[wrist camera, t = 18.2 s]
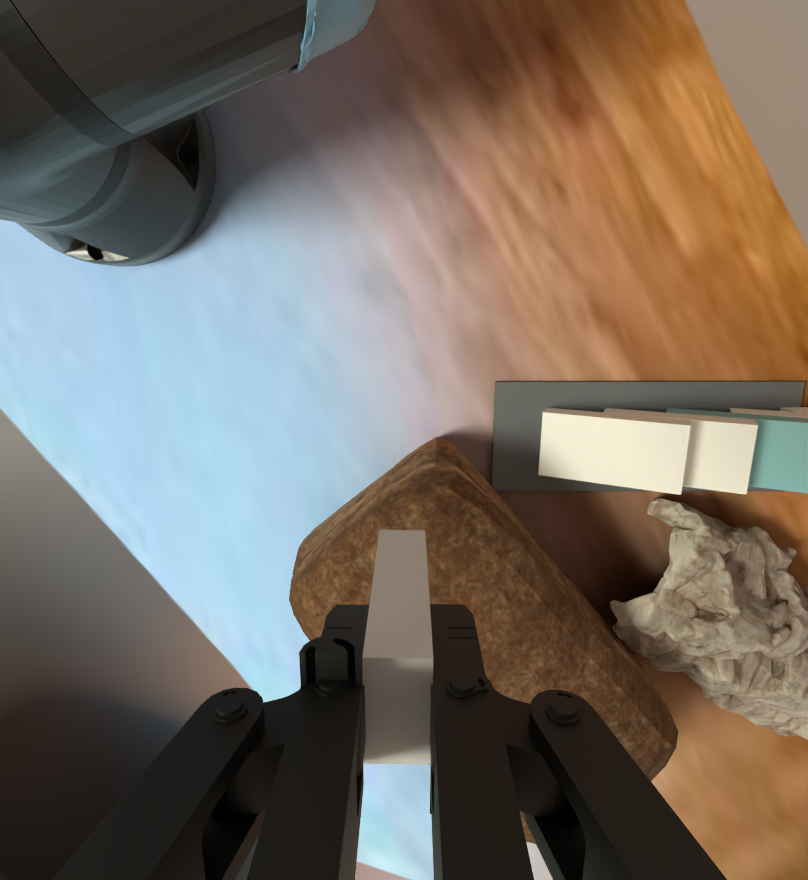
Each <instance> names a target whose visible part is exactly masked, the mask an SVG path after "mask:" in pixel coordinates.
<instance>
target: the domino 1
mask: <svg viewBox="0 0 808 880" xmlns="http://www.w3.org/2000/svg"><path fill="white" fill-rule="evenodd" d="M690 428H691V423H690V420H684V419H673V418H661V417H650V416H638V415H627V414H615V413H604V412H592V411H581V410H570V409H558V408H547V409H546V410H545V411H544V412H543V416H542V430H541V444H540V459H539V473H538V475H542V476H550V477H557V478H564V479H571V480H578V481H585V482H592V483H599V484H607V485H614V486H621V487H628V488H635V489H642V490H649V491H656V492H664V493H671V494H678V495H681V492H682V485H683V478H684V471H685V463H686V456H687V449H688V442H689V435H690Z"/></svg>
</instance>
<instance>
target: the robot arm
mask: <svg viewBox="0 0 808 880" xmlns="http://www.w3.org/2000/svg"><path fill="white" fill-rule="evenodd" d="M375 3H376V0H0V219H2V220H7V221H12V222H16V223H17V224H19V225H20V226H22V227H23V228H24V229H26V230H27V231H28V232H30V233H31V234H33V235H34V236H35V237H37V238H38V239H39V240H41V241H42V242H44V243H45V244H47V245H48V246H50V247H52V248H53V249H55V250H57V251H59V252H61V253H63V254H65V255H68V256H70V257H73V258H76V259H79V260H82V261H86V262H90V263H96V264H103V265H111V266H136V265H142V264H146V263H150V262H153V261H156V260H158V259H160V258H163V257H165V256H166V255H168V254H170V253H171V252H173V251H175V250H176V249H177V248H178V247H180V246H181V245H182V244H183V243H184V242H185V241H186V240H187V239H188V238H189V237H190V236H191V235H192V234H193V232H194V231H195V230H196V228H197V227H198V225H199V224H200V222H201V221H202V219H203V217H204V215H205V213H206V210H207V208H208V205H209V203H210V199H211V196H212V192H213V187H214V180H215V151H214V144H213V139H212V134H211V131H210V127H209V124H208V121H207V118H206V116H205V113H204V111H203V108H205V107H207V106H209V105H211V104H214V103H216V102H218V101H220V100H223V99H225V98H227V97H229V96H231V95H234V94H236V93H238V92H240V91H243V90H245V89H247V88H249V87H251V86H254V85H256V84H258V83H260V82H263V81H265V80H267V79H269V78H271V77H274V76H276V75H278V74H280V73H283V72H285V71H287V70H288V71H289V72H290V73H291V74H294V73H298V72H300V71H301V70H303V69H304V68H305V66H306V65H307V64H308V62H309V61H310V60H311V59H313V58H315V57H317V56H319V55H321V54H323V53H325V52H327V51H329V50H331V49H333V48H335V47H337V46H339V45H341V44H343V43H345V42H347V41H349V40H351V39H352V38H354V37H355V36H356V35H358V34H359V33H360V32H361V31H362V30H363V29H364V27H365V26H366V24H367V22H368V20H369V18H370V16H371V14H372V11H373V9H374V6H375ZM299 656H300V676H301V688H300V690H298V691H297V692H295V693H293V694H291V695H290V696H287V697H284V698H281V699H277V700H273V701H269V702H264V703H263V699H262V697H261V696H260V695H259V694H258V693H257V692H256V691H253V690H251V689H248V688H232V689H227V690H223V691H221V692H219V693H216V694H214V695H212V696H211V697H210V698H209V699H207V700H206V701H205V702H204V703H203V704H202V705H201V706H200V707H199V708H198V710H196V712H195V713H194V714H193V715H192V716H191V718H190V719H189V720H188V721H187V722H186V723H185V725H184V726H183V727H182V728H181V729H180V730H179V732H178V733H177V734H176V735H175V736H174V737H173V739H172V740H171V741H170V742H169V743H168V744H167V746H166V747H165V748H164V749H163V750H162V752H161V753H160V754H159V755H158V756H157V757H156V759H155V760H154V761H153V762H152V763H151V764H150V766H149V767H148V768H147V769H146V770H145V771H144V773H143V774H142V775H141V776H140V777H139V779H138V780H137V781H136V782H135V783H134V784H133V785H132V787H131V788H130V789H129V790H128V791H127V793H126V794H125V795H124V796H123V797H122V798H121V800H120V801H119V802H118V803H117V804H116V805H115V807H114V808H113V809H112V810H111V811H110V812H109V814H108V815H107V816H106V817H105V818H104V820H103V821H102V822H101V823H100V824H99V825H98V827H97V828H96V829H95V830H94V831H93V832H92V834H91V835H90V836H89V837H88V838H87V840H86V841H85V842H84V843H83V844H82V845H81V846H80V848H79V849H78V850H77V851H76V852H75V854H74V855H73V856H72V857H71V858H70V859H69V861H68V862H67V863H66V864H65V865H64V866H63V868H62V869H61V870H60V871H59V872H58V873H57V875H56V876H55V877H54V878H53V879H52V880H235V879H236V877H237V875H238V873H239V871H240V869H241V867H242V866H243V864H244V862H245V860H246V858H247V856H248V854H249V853H250V851H251V849H252V847H253V845H254V843H255V841H256V839H257V838H258V836H259V838H258V841H257V845H256V849H255V852H254V856H253V859H252V863H251V866H250V871H249V874H248V877H247V880H355V870H356V859H357V849H358V838H359V827H360V817H361V806H362V795H363V762H364V764H431V785H430V814H432V838H433V864H434V880H534V878H533V873H532V868H531V863H530V859H529V854H528V849H527V844H526V840H525V835H524V830H523V825H522V821H521V816H520V811H521V812H523V814H524V818H525V822H526V824H527V826H528V828H529V830H530V832H531V834H532V836H533V838H534V840H535V842H536V845H537V847H538V849H539V851H540V853H541V855H542V857H543V859H544V861H545V863H546V865H547V868H548V870H549V872H550V874H551V876H552V878H553V880H727V879H726V878H725V876H724V875H723V874H722V873H721V871H720V870H719V869H718V867H717V866H716V865H715V864H714V862H713V861H712V860H711V858H710V857H709V856H708V855H707V853H706V852H705V851H704V849H703V848H702V847H701V846H700V844H699V843H698V842H697V840H696V839H695V838H694V837H693V835H692V834H691V833H690V831H689V830H688V829H687V828H686V826H685V825H684V824H683V822H682V821H681V820H680V819H679V817H678V816H677V815H676V813H675V812H674V811H673V810H672V808H671V807H670V806H669V804H668V803H667V802H666V801H665V799H664V798H663V797H662V795H661V794H660V793H659V792H658V790H657V789H656V788H655V786H654V785H653V784H652V783H651V781H650V780H649V779H648V777H647V776H646V775H645V774H644V772H643V771H642V770H641V768H640V767H639V766H638V765H637V763H636V762H635V761H634V760H633V758H632V757H631V756H630V754H629V753H628V752H627V751H626V749H625V748H624V747H623V745H622V744H621V743H620V742H619V740H618V739H617V738H616V736H615V735H614V734H613V733H612V731H611V730H610V729H609V727H608V726H607V725H606V724H605V722H604V721H603V720H602V718H601V717H600V716H599V715H598V713H597V712H596V711H595V709H594V708H593V707H592V706H591V705H590V704H589V703H588V702H587V701H586V700H585V699H584V698H582V697H580V696H578V695H576V694H574V693H572V692H568V691H563V690H546V691H543V692H540V693H538V694H537V695H536V696H535V697H534V698H533V699H532V701H531V704H529V703H525V702H521V701H517V700H514V699H511V698H508V697H506V696H504V695H503V694H501V693H499V692H498V691H497V690H495V689H494V688H493V686H492V684H491V681H490V680H489V679H488V678H487V677H486V674H485V669H484V664H483V659H482V654H481V649H480V644H479V639H478V634H477V629H476V624H475V619H474V615H473V614H472V613H471V612H470V610H469V609H468V608H467V607H466V606H465V605H464V604H430V598H429V583H428V567H427V552H426V536H425V530H379V537H378V545H377V552H376V560H375V567H374V574H373V582H372V589H371V597H370V604H369V605H340V604H337V605H336V606H335V607H334V608H333V609H332V610H331V611H330V612H329V613H328V614H327V616H326V620H325V623H324V629H323V631H322V635H321V637H318V638H315V639H312V640H311V641H309V642H308V643H307V644H305V645H304V646H303V648H302V649H301V651H300V652H299Z"/></svg>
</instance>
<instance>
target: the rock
mask: <svg viewBox="0 0 808 880" xmlns="http://www.w3.org/2000/svg"><path fill="white" fill-rule="evenodd" d="M648 514H649V515H651V516H654V517H657V518H659V519H661V520H663V521H665V522H666V523H667V524H669V525H670V526H673V527H675V526H677V527H680V528H681V529H678V528H673V530H672V533H671V535H670V545H669V558H670V565H669V566H668V568H667V569H666V571H665V572H664V577H662V578H661V580H660V582H659V584H658V586H657V587H656V589H655V590H654V592H653V593H650V594H647V595H643V596H640V597H638V598H635V599H632V600H630V601H627V602H619V601H616V600H613V601H611V602H610V606H611V610H612V611H613V613H614V614H615V616H616V618H617V620H618V621H617V623H616V624H615V625H613V626H612V628H613V630H614V633H615V634H616V635H617V636H618V637H619V638H620V639H623V642H624V644H625V645H626V646H628V647H629V648H630V649H631V650H633V651H634V652H635V653H638V654H640V655H642V656H643V657H646V658H649V660H650V661H651V663H652V665H653V666H654V667H655V668H657V669H658V670H659V671H670V672H673V673H676V672H682V671H684V672H685V673H686V674H687V675H688V676H689V677H690V678H691V679H692V680H693V681H694V682H695V683H696V684H697V685H698V686H699V687H700V688H701V689H702V691H703V693H704V696H705V698H708V699H710V700H712V701H713V702H714V703H715V704H716V705H717V706H719V707H720V708H721V709H723V710H726V711H729V712H734V713H738V714H740V715H743V716H745V717H746V718H747V719H748V720H750V721H751V722H752V723H754V724H756V725H758V726H761V727H764V728H768V729H772V730H774V731H775V732H777V733H778V734H779V735H783V736H791V735H792V736H801V737H803V738H805V739H806V740H808V586H803V585H802V584H800V583H798V582H797V581H796V579H794V577H793V576H792V575H791V574H789V573H788V572H787V571H788V566H789V565H790V563H791V562H792V559H793V558H794V557H795V556H796V555H797V551H796V550H794V549H793V548H791V547H787V548H782V549H781V548H779V547H778V546H777V545H776V544H775V543H774V541H773V540H772V539H771V537H770V536H769V534H768V533H767V532H766V531H764V530H762V529H761V528H759V527H757V526H753V527H737V528H733V527H731V526H729V525H727V524H725V523H724V522H722V521H721V520H719V519H717V518H711V517H709V516H707V515H705V514H704V513H702V512H700V511H699V510H697V509H695V508H693V507H691V506H688V505H687V504H685V503H682V502H675V501H669V500H665V499H662V498H660V499H655V500H653V501H652V502H651V503H649V506H648Z"/></svg>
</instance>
